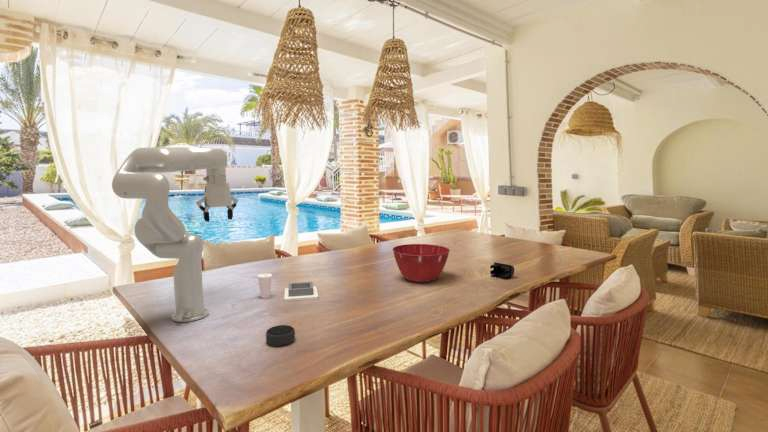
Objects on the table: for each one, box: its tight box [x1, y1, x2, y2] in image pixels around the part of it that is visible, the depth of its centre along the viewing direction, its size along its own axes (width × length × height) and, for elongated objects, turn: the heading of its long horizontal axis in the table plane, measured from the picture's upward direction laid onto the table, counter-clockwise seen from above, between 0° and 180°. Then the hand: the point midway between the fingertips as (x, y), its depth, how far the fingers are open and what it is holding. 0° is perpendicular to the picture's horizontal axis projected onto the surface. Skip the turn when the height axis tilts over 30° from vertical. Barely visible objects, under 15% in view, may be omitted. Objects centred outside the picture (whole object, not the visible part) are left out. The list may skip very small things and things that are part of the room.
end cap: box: [489, 262, 515, 281], centre depth 204 cm, size 10×7×7 cm
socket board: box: [283, 281, 319, 302], centre depth 178 cm, size 16×14×4 cm
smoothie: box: [257, 264, 273, 299], centre depth 174 cm, size 6×6×14 cm
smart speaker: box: [265, 324, 296, 347], centre depth 129 cm, size 9×9×4 cm
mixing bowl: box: [392, 243, 451, 284], centre depth 201 cm, size 28×28×15 cm
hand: (218, 220), depth 172 cm, fingers open, 9 cm apart
